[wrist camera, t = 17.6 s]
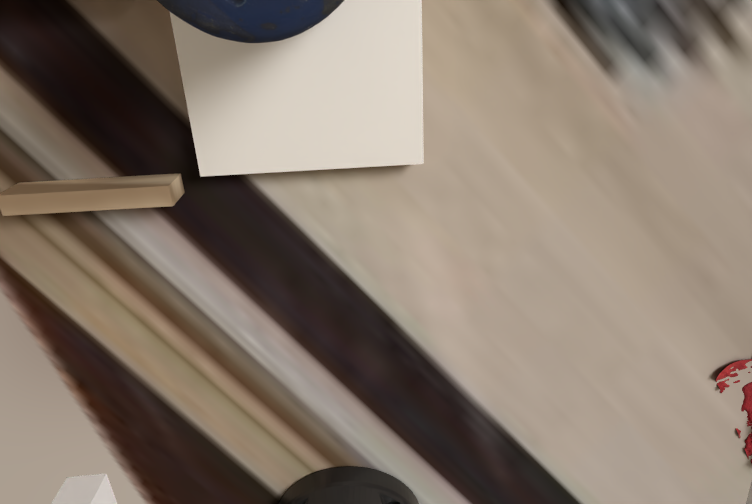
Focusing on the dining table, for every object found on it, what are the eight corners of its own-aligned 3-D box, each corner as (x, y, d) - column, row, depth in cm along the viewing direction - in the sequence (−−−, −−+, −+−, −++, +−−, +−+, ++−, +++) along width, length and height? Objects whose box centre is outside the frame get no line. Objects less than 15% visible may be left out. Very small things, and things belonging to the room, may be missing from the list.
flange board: (420, 156, 42) (430, 180, 36) (206, 168, 42) (185, 194, 36) (415, -212, 33) (428, -253, 27) (140, -199, 32) (97, -238, 27)
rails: (184, 192, 42) (172, 205, 40) (25, 201, 42) (2, 215, 39) (138, -37, 36) (120, -40, 33) (-51, -28, 36) (-84, -30, 33)
